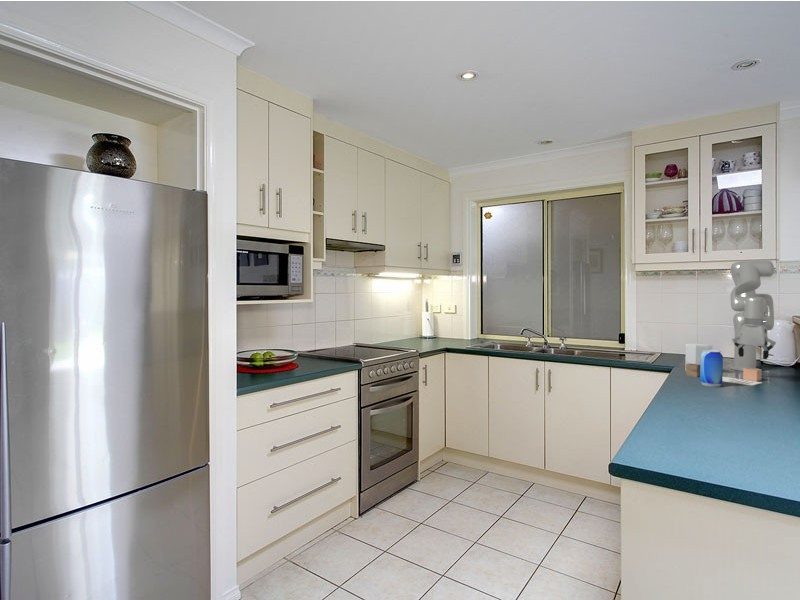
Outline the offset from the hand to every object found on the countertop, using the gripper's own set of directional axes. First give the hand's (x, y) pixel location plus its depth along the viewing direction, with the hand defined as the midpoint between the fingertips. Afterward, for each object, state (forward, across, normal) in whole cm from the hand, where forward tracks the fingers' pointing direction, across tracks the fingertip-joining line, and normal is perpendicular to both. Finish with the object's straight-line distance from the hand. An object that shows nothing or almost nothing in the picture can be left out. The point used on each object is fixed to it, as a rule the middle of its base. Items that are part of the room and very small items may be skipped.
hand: (753, 357), depth 220 cm
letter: (+11, +3, +9) cm, 15 cm away
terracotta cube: (+11, 0, -1) cm, 11 cm away
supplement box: (+11, +24, -1) cm, 27 cm away
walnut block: (+11, +20, +13) cm, 27 cm away
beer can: (+12, +5, +30) cm, 33 cm away
